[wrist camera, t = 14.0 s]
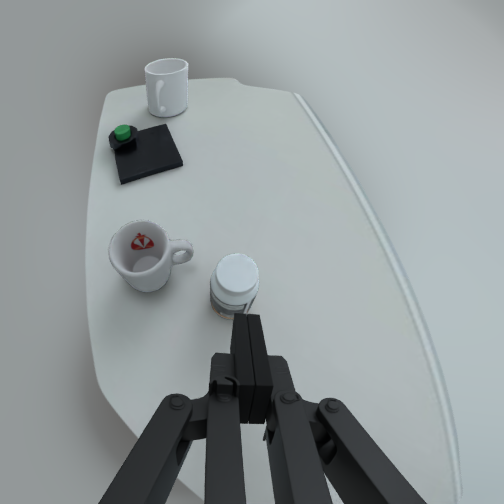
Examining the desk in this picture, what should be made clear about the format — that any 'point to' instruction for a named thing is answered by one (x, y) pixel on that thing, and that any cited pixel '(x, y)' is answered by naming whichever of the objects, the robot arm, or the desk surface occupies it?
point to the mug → (167, 86)
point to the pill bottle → (234, 285)
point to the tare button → (122, 132)
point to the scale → (145, 153)
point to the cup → (146, 254)
